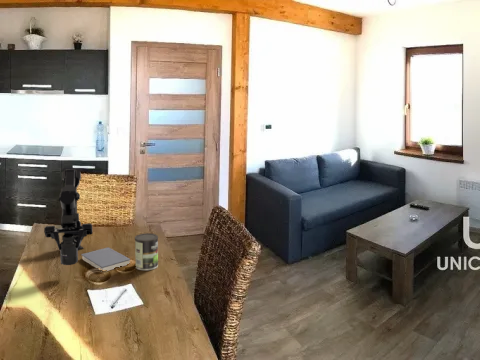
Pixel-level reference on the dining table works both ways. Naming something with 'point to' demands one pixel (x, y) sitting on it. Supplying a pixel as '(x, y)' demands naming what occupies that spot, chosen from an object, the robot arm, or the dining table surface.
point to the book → (105, 259)
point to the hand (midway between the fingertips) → (68, 248)
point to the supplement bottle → (68, 250)
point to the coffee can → (146, 251)
